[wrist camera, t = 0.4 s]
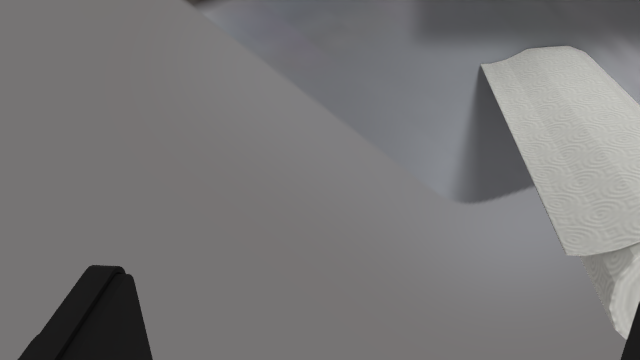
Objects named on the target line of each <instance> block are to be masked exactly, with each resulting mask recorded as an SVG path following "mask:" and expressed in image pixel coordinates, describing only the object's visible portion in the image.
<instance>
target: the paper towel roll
mask: <svg viewBox="0 0 640 360" xmlns="http://www.w3.org/2000/svg"><path fill="white" fill-rule="evenodd" d="M480 65H481V67H482V69H483V72H484V74H485V76H486V78H487V81H488V83H489V85H490V87H491V89H492V92H493V94H494V96H495V98H496V101H497V103H498V105H499V107H500V109H501V112H502V114H503V116H504V118H505V121H506V123H507V125H508V127H509V130H510V132H511V134H512V136H513V138H514V141H515V143H516V145H517V147H518V150H519V152H520V154H521V156H522V158H523V161H524V163H525V165H526V167H527V170H528V172H529V174H530V176H531V178H532V181H533V183H534V185H535V187H536V190H537V192H538V194H539V196H540V198H541V201H542V203H543V205H544V207H545V209H546V212H547V214H548V216H549V218H550V221H551V223H552V225H553V227H554V230H555V232H556V234H557V236H558V239H559V241H560V243H561V245H562V247H563V250H564V252H565V254H566V255H578V256H580V258H581V260H582V262H583V264H584V266H585V268H586V270H587V273H588V275H589V277H590V279H591V281H592V283H593V285H594V287H595V289H596V291H597V293H598V295H599V297H600V299H601V301H602V304H603V306H604V308H605V310H606V312H607V314H608V316H609V318H610V320H611V322H612V324H613V326H614V328H615V330H616V331H617V332H619V333H620V334H621V335H622V336H623V337H624V338H625V339H626V340H627V338H628V335H629V332H630V329H631V326H632V323H633V319H634V316H635V313H636V310H637V307H638V304H639V302H640V105H639V104H638V103H637V102H636V101H635V100H634V99H633V98H632V97H631V96H630V95H629V94H628V93H626V92H625V91H624V90H623V89H622V88H621V87H620V86H619V85H618V84H617V83H616V82H615V81H614V80H613V79H612V78H611V77H610V76H609V75H608V74H607V73H606V72H605V71H604V70H603V69H602V68H601V67H600V66H599V65H598V64H597V63H596V62H595V61H594V60H593V59H592V58H591V57H590V56H589V55H588V54H587V53H586V52H583V51H581V50H578V49H576V48H573V47H571V46H555V47H542V48H531V49H526V50H524V51H522V52H520V53H518V54H516V55H514V56H512V57H510V58H508V59H506V60H503V61H499V62H495V63H491V64H480Z"/></svg>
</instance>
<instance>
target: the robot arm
mask: <svg viewBox="0 0 640 360" xmlns="http://www.w3.org/2000/svg"><path fill="white" fill-rule="evenodd" d="M18 360H153V359H152V355H151V351H150V346H149V342H148V338H147V334H146V329H145V325H144V321H143V317H142V312H141V308H140V304H139V300H138V295H137V291H136V287H135V283H134V279H133V277H132V276H131V275H130V274H126V273H125V271H124V269H123V268H122V267H120V266H100V265H92V266H89V267H88V268H87V269H86V271H85V272H84V273H83V275H82V276H81V278H80V279H79V280H78V282H77V283H76V284H75V286H74V287H73V289H72V290H71V291H70V293H69V294H68V295H67V297H66V298H65V299H64V301H63V302H62V304H61V305H60V306H59V308H58V309H57V310H56V312H55V313H54V315H53V316H52V317H51V319H50V320H49V322H48V323H47V324H46V326H45V327H44V328H43V330H42V331H41V333H40V334H38V335H37V336H36V337H35V338H34V339H33V340H32V341H31V343H30V344H29V345H28V347H27V348H26V349H25V351H24V352H23V353H22V355H21V356H20V358H19V359H18ZM621 360H640V302H639V304H638V307H637V310H636V313H635V316H634V319H633V323H632V326H631V329H630V332H629V335H628V338H627V342H626V344H625V348H624V351H623V354H622V357H621Z"/></svg>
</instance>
